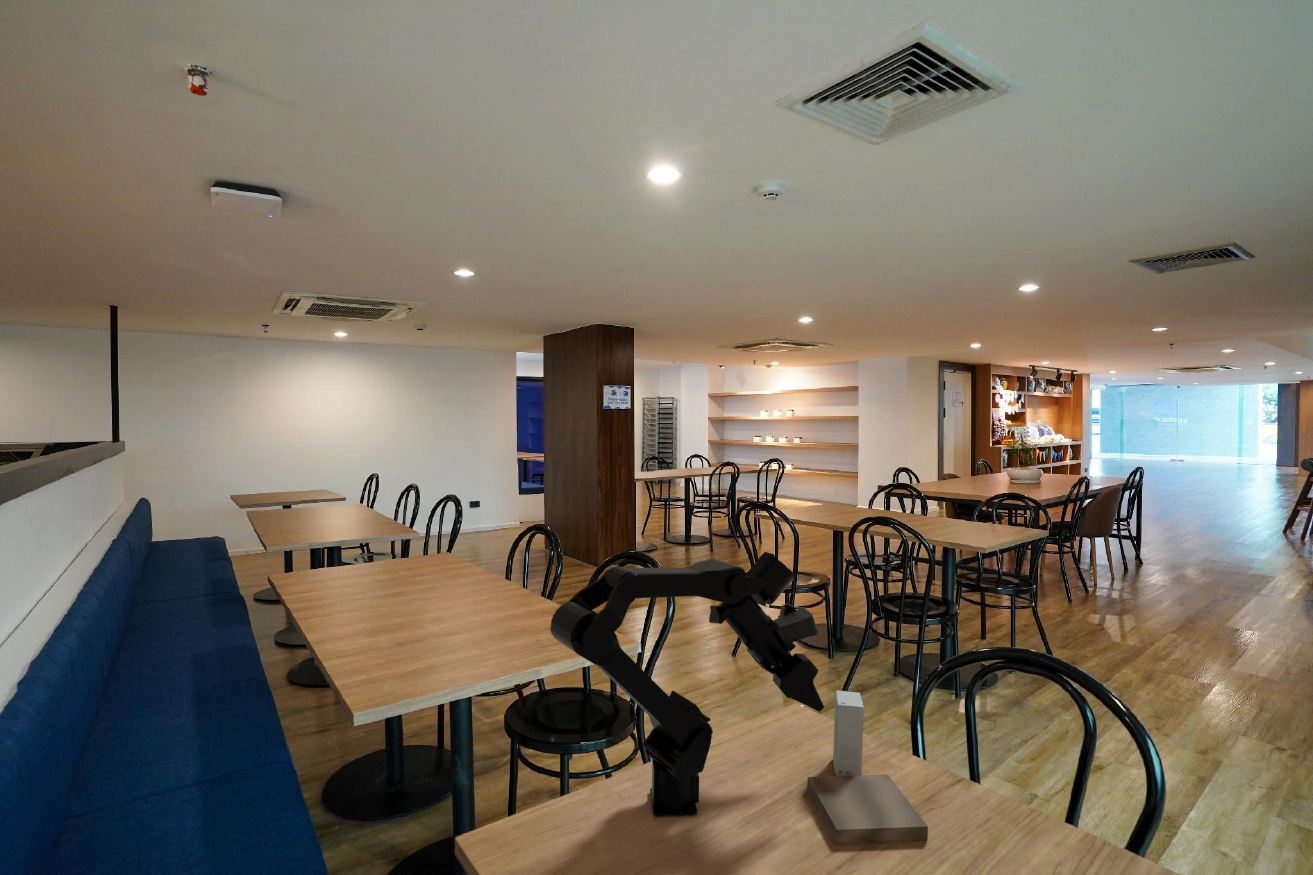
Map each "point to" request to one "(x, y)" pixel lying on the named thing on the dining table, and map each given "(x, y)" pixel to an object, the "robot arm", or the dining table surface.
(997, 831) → the dining table surface
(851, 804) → the walnut plinth
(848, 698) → the skincare box
